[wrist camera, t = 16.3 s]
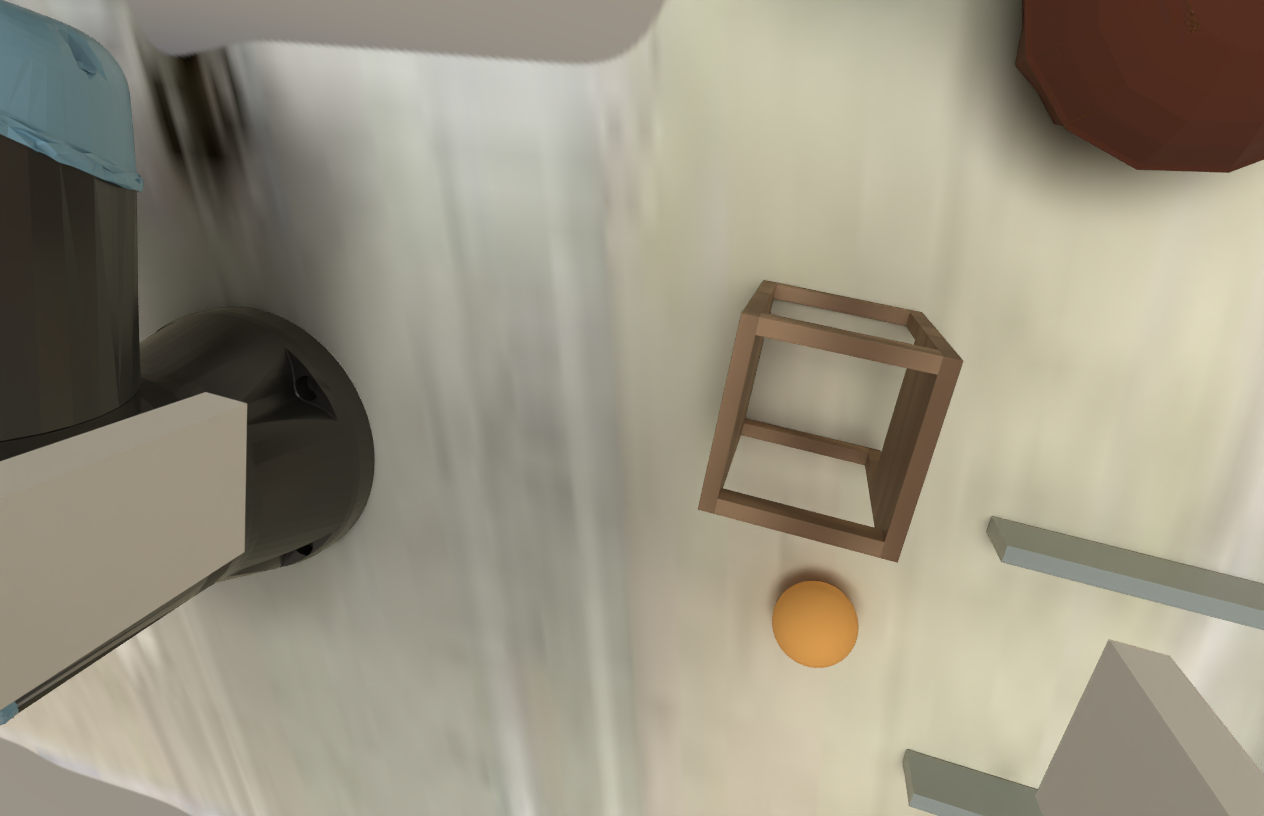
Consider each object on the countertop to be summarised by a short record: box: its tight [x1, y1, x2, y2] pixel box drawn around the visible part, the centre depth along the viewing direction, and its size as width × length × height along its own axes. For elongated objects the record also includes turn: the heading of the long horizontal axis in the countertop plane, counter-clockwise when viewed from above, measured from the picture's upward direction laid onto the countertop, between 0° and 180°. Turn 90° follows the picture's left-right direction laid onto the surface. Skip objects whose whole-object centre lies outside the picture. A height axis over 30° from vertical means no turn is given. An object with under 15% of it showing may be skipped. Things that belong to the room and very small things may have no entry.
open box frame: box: [698, 280, 963, 563], centre depth 29 cm, size 7×7×10 cm
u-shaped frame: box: [903, 517, 1264, 816], centre depth 33 cm, size 16×14×3 cm
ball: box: [772, 581, 858, 668], centre depth 35 cm, size 4×4×4 cm
